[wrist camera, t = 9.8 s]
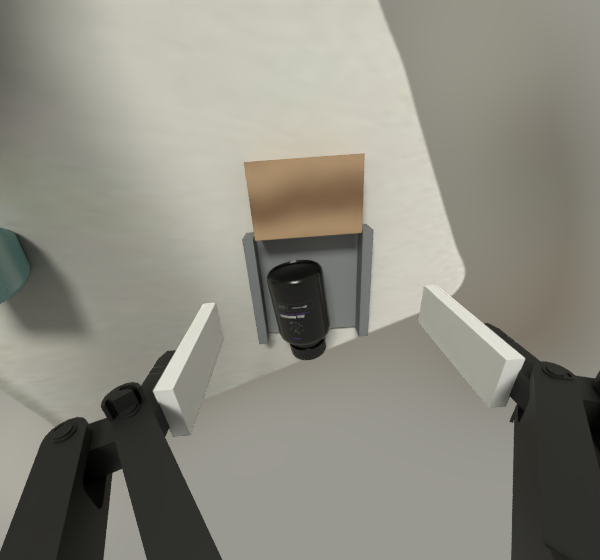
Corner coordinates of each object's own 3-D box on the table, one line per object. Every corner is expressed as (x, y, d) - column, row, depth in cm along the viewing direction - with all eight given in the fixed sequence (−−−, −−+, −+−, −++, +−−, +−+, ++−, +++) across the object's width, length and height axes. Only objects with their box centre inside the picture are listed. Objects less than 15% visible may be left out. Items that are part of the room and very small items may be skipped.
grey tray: (246, 233, 32) (242, 239, 29) (366, 224, 32) (373, 229, 30) (261, 331, 38) (259, 343, 36) (362, 323, 38) (367, 335, 36)
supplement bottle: (285, 288, 26) (305, 375, 31) (334, 264, 29) (345, 346, 34) (254, 273, 31) (276, 350, 36) (298, 254, 34) (312, 327, 39)
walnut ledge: (249, 162, 29) (243, 162, 25) (355, 154, 29) (364, 153, 25) (258, 232, 32) (255, 240, 29) (353, 225, 32) (361, 232, 29)
